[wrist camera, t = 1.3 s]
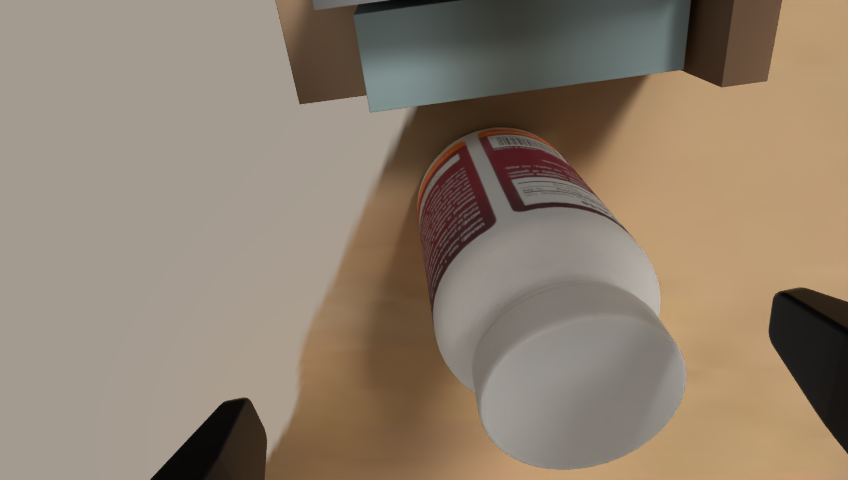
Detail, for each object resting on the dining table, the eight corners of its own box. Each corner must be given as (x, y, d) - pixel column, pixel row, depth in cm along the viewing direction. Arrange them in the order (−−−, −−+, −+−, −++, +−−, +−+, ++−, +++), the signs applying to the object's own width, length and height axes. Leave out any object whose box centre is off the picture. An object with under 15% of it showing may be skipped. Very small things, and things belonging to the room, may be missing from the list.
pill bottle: (454, 286, 23) (502, 523, 14) (388, 166, 21) (390, 360, 11) (590, 227, 22) (743, 438, 13) (540, 93, 20) (688, 236, 10)
